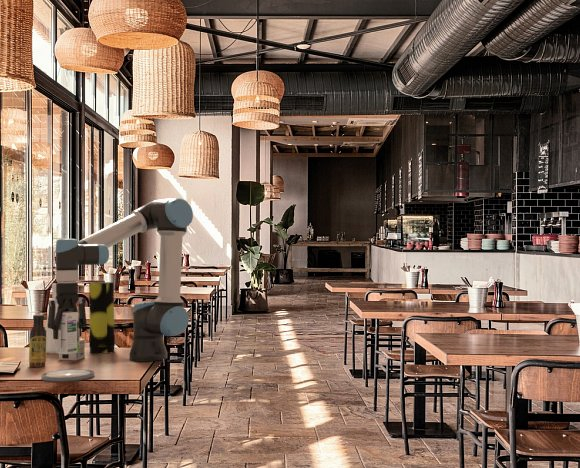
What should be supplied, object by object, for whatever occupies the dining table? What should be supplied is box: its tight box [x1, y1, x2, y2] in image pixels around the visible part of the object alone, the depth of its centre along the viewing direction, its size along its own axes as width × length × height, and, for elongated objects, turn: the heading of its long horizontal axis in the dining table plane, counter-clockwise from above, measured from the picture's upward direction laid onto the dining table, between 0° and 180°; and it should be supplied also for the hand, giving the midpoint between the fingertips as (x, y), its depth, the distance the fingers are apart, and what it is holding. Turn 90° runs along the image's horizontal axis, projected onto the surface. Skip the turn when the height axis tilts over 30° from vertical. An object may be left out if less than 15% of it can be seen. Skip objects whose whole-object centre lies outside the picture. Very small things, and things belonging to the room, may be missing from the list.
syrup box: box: [55, 310, 80, 355], centre depth 270 cm, size 6×6×14 cm
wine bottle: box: [44, 282, 59, 355], centre depth 332 cm, size 10×10×30 cm
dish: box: [41, 369, 95, 383], centre depth 270 cm, size 18×18×1 cm
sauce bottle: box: [28, 314, 47, 368], centre depth 295 cm, size 6×6×20 cm
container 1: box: [58, 338, 86, 361], centre depth 313 cm, size 8×8×13 cm
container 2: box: [88, 281, 116, 355], centre depth 331 cm, size 11×11×30 cm
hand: (67, 347), depth 270 cm, fingers closed on syrup box, 6 cm apart
